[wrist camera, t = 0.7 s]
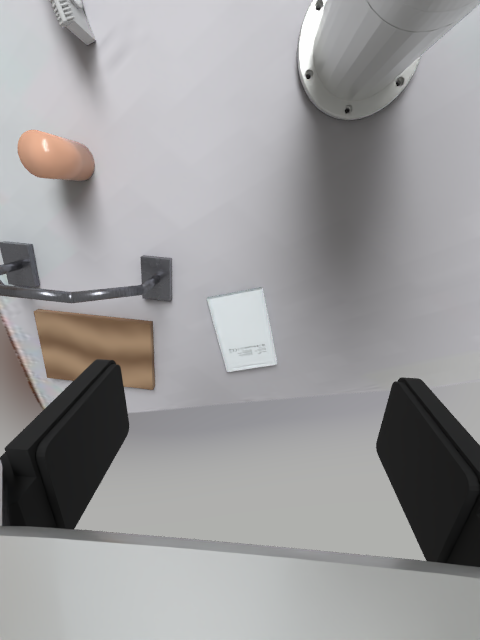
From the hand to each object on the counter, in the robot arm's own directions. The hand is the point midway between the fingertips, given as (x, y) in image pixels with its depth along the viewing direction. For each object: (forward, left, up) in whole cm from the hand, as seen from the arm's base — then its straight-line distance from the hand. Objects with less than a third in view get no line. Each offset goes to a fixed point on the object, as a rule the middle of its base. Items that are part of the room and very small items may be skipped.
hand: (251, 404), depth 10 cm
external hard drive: (+12, -1, -33) cm, 35 cm away
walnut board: (+18, -24, -32) cm, 44 cm away
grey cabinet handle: (+5, -24, -32) cm, 40 cm away
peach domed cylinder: (-9, -24, -32) cm, 41 cm away
